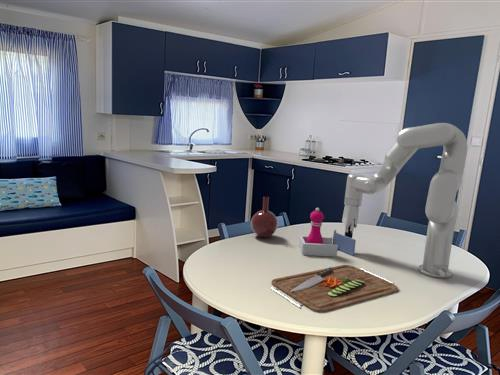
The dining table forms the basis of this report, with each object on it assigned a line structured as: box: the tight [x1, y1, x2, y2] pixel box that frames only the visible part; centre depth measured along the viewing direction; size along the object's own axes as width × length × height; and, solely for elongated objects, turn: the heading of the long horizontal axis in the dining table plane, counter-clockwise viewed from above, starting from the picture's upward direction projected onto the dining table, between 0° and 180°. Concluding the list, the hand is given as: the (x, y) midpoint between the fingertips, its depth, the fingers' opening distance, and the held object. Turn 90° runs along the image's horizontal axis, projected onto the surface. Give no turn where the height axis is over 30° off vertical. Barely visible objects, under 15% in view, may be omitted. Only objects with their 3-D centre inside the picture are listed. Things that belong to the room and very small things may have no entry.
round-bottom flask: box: [250, 195, 279, 238], centre depth 204 cm, size 13×13×20 cm
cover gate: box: [332, 229, 356, 256], centre depth 189 cm, size 13×1×8 cm, turn 32°
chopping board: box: [270, 264, 399, 313], centre depth 150 cm, size 45×27×3 cm, turn 122°
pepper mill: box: [307, 207, 325, 244], centre depth 187 cm, size 7×7×20 cm
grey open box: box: [298, 235, 339, 257], centre depth 188 cm, size 12×15×5 cm
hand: (347, 240), depth 190 cm, fingers closed
